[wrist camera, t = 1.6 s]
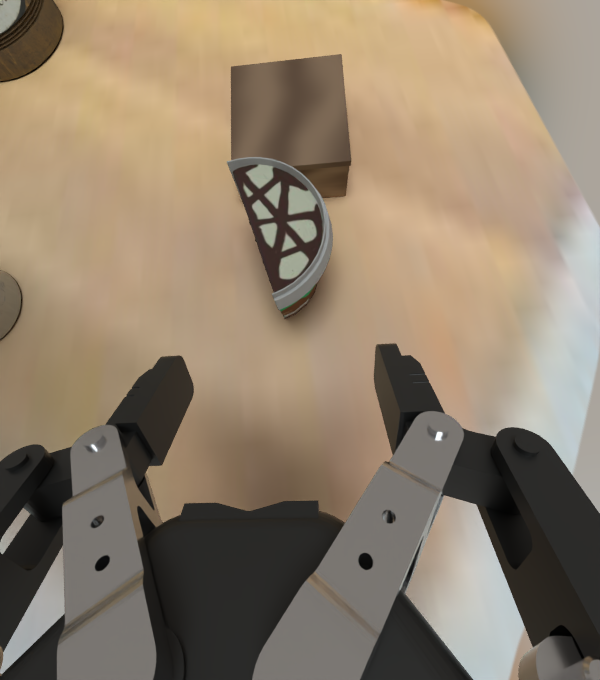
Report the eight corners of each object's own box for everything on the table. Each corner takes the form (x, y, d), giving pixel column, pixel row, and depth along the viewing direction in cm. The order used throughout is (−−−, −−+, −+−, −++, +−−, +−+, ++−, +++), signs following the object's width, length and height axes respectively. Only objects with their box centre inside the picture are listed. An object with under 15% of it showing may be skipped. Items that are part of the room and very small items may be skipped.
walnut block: (244, 205, 33) (231, 171, 28) (243, 112, 35) (230, 66, 30) (346, 196, 32) (351, 160, 27) (338, 102, 35) (341, 54, 30)
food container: (346, 312, 30) (359, 272, 20) (289, 332, 30) (274, 301, 20) (306, 209, 32) (301, 128, 23) (253, 228, 32) (224, 155, 23)
